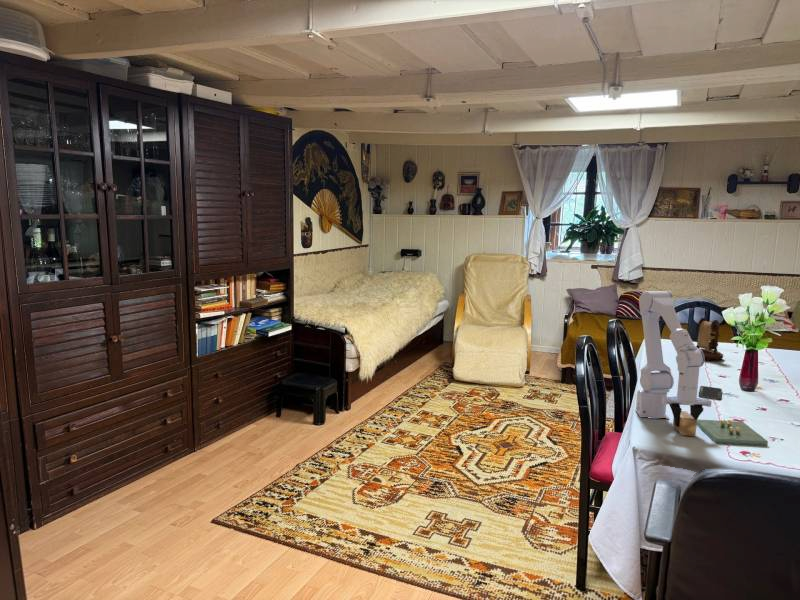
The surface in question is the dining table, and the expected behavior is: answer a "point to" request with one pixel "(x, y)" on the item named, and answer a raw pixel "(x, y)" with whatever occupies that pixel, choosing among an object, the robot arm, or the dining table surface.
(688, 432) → the oak block
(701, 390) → the phone
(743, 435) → the green slab
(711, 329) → the brown wooden ornament
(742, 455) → the dining table surface
